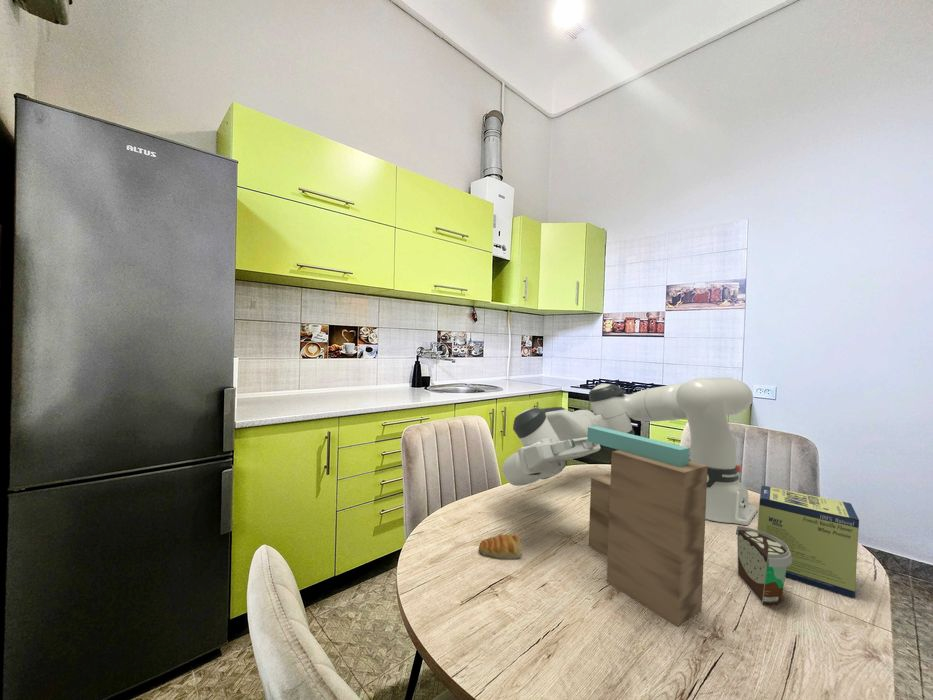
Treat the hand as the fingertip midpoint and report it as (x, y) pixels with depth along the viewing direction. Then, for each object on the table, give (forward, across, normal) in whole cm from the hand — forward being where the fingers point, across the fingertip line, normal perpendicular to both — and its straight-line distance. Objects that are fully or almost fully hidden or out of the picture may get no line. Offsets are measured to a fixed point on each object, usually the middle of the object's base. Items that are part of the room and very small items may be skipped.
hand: (586, 440), depth 85 cm
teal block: (+10, 0, -5) cm, 11 cm away
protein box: (+11, -36, -36) cm, 53 cm away
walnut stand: (-4, -6, -27) cm, 28 cm away
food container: (+10, -22, -36) cm, 43 cm away
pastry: (-22, +15, -18) cm, 32 cm away
